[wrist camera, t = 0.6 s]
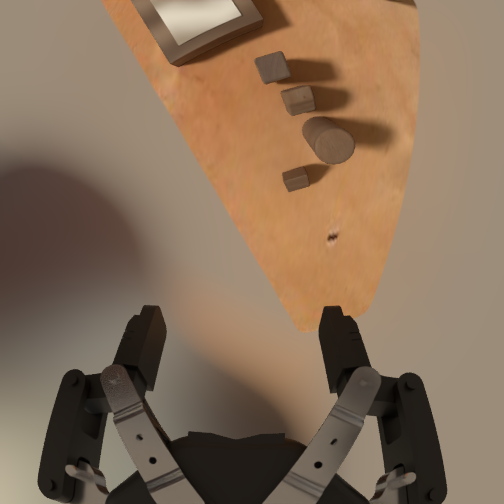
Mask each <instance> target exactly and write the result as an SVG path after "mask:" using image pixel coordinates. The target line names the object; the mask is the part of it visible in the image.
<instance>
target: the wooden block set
mask: <svg viewBox="0 0 504 504" xmlns="http://www.w3.org/2000/svg"><path fill="white" fill-rule="evenodd" d="M254 62H255V64H256V67H257V69H258V71H259V74H260V76H261V79H262V81H263V83H264V84H269V83H272V82H276V81H279V80H282V79H286V78H289V77H290V76H291V71H290V69H289V66H288V64H287V61H286V59H285V56H284V54H283V52H281V51H279V52H275V53H272V54H268V55H265V56H262V57H258V58H256V59H255V60H254ZM281 95H282V98H283V101H284V104H285V106H286V109H287V111H288V113H289V114H290V115H291V116H295V115H298V114H302V113H305V112H309V111H313V110H315V109H316V105H315V98H314V95H313V92H312V89H311V87H310V86H297V87H294V88H290V89H287V90H283V91H281ZM302 133H303V136H304V138H305V139H306V141H307V142H308V144H309V145H310V147H311V148H312V149H313V151H314V152H315V154H316V155H317V157H318V158H319V159H320V160H321V161H323V162H325V163H327V164H340V163H342V162H345V161H346V160H348V159H349V158H350V157H351V156H352V154H353V153H354V149H355V141H354V139H353V136H352V135H351V134H350V133H349V132H348V131H346V130H345V129H343V128H341V127H340V126H338V125H336V124H335V123H333V122H332V121H330V120H328V119H326V118H324V117H313V118H310V119H309V120H307V121H306V122H305V124H304V125H303V129H302ZM282 176H283V182H284V184H285V186H286V188H287V190H288V192H291V191H295V190H298V189H302V188H305V187H309V186H310V185H309V180H308V175H307V173H306V170H305V168H304V167H300V168H297V169H293V170H290V171H287V172H283V173H282Z"/></svg>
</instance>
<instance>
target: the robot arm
mask: <svg viewBox="0 0 504 504" xmlns="http://www.w3.org/2000/svg"><path fill="white" fill-rule="evenodd" d="M166 333H167V330H166V325H165V322H164V318H163V316H162V312H161V309H160V307H159V306H152V305H144V306H143V308H142V310H141V313H140V315H134V316H133V317H132V318H131V319H130V321H129V322H128V324H127V326H126V329H125V332H124V334H123V337H122V339H121V342H120V345H119V347H118V350H117V353H116V356H115V358H114V361H113V364H112V365H110V366H108V367H106V368H105V369H104V370H103V371H102V373H99V374H92V375H84V374H83V373H82V371H80V370H78V369H73V370H70V371H68V372H67V373H66V374H65V375H64V377H63V379H62V382H61V385H60V388H59V391H58V394H57V397H56V401H55V404H54V407H53V411H52V414H51V418H50V422H49V425H48V429H47V433H46V438H45V442H44V447H43V451H42V456H41V462H40V468H39V473H38V486H39V489H40V491H41V492H42V493H43V495H44V496H46V497H47V498H49V499H52V500H56V501H58V502H61V503H64V504H441V503H442V502H443V501H444V500H445V498H446V495H447V484H446V477H445V471H444V465H443V459H442V454H441V450H440V444H439V440H438V436H437V431H436V427H435V423H434V419H433V415H432V412H431V408H430V405H429V401H428V398H427V394H426V391H425V388H424V384H423V382H422V380H421V378H420V377H419V376H418V375H416V374H414V373H405V374H403V375H401V376H400V377H399V378H392V377H386V376H382V375H380V374H379V373H378V372H377V371H376V370H375V369H373V368H372V367H371V365H370V362H369V359H368V356H367V352H366V350H365V346H364V343H363V341H362V337H361V335H360V333H359V329H358V326H357V323H356V322H355V321H354V320H353V318H352V317H351V316H350V315H349V316H344V315H343V312H342V309H341V307H340V306H325V307H324V309H323V313H322V317H321V321H320V325H319V340H320V345H321V350H322V354H323V359H324V364H325V369H326V374H327V379H328V384H329V389H330V393H337V395H338V400H337V402H336V403H335V405H334V407H333V408H332V410H331V411H330V413H329V415H328V416H327V418H326V419H325V421H324V423H323V424H322V426H321V427H320V429H319V430H318V432H317V433H316V435H315V436H314V438H313V439H312V440H311V442H310V443H309V445H308V446H305V445H304V444H302V443H300V442H297V441H295V440H292V439H288V438H285V433H279V434H260V435H255V436H251V437H247V438H242V439H236V440H235V439H231V438H227V437H223V436H220V435H216V434H212V433H202V432H191V431H189V432H188V436H186V437H181V438H178V439H176V440H173V441H171V440H170V438H169V437H168V435H167V434H166V433H165V431H164V430H163V428H162V427H161V425H160V424H159V422H158V420H157V418H156V417H155V415H154V413H153V412H152V410H151V408H150V406H149V404H148V403H147V401H146V399H145V392H146V390H147V391H153V389H154V385H155V380H156V376H157V372H158V368H159V364H160V360H161V355H162V351H163V347H164V343H165V340H166ZM109 412H113V414H114V417H113V422H114V424H115V426H116V429H117V430H118V433H119V435H120V437H121V439H122V441H123V443H124V445H125V447H126V449H127V451H128V453H129V455H130V457H131V459H132V460H133V462H134V464H135V466H136V468H137V469H138V470H137V471H136V472H135V473H133V474H132V475H131V476H130V477H129V478H127V479H126V480H125V481H124V482H122V483H121V484H120V485H119V486H117V488H115V489H114V490H112V491H111V492H110V493H109V492H108V490H107V487H106V480H105V477H104V475H103V473H102V472H101V471H100V470H99V462H100V455H101V449H102V443H103V437H104V431H105V426H106V420H107V415H108V413H109ZM366 415H370V416H377V421H378V427H379V433H380V439H381V445H382V453H383V460H384V468H385V474H384V475H382V476H381V477H380V478H379V480H378V481H377V483H376V490H375V494H374V496H373V497H372V498H371V499H370V500H369V501H368V500H367V499H366V498H365V497H364V496H363V495H362V494H360V493H359V492H358V491H357V490H356V489H354V488H353V487H352V486H351V485H349V484H348V483H347V482H346V481H345V480H344V479H342V478H341V477H340V476H339V475H338V474H337V473H336V472H337V470H338V469H339V467H340V465H341V464H342V462H343V461H344V459H345V457H346V456H347V454H348V452H349V451H350V449H351V447H352V445H353V444H354V442H355V440H356V438H357V436H358V435H359V433H360V431H361V429H362V427H363V425H364V419H365V416H366Z"/></svg>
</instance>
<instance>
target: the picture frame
mask: <svg viewBox="0 0 504 504" xmlns="http://www.w3.org/2000/svg"><path fill="white" fill-rule="evenodd" d="M131 2H132V3H133V5H134V6H135V8H136V10H137V11H138V13H139V14H140V16H141V18H142V19H143V21H144V22H145V24H146V26H147V27H148V29H149V30H150V32H151V34H152V35H153V37H154V38H155V40H156V42H157V43H158V45H159V47H160V48H161V50H162V52H163V53H164V55H165V56H166V58H167V60H168V61H169V63H170V64H172V65H174V66H177V67H179V66H181V65H182V64H184V63H186V62H188V61H189V60H191V59H193V58H195V57H197V56H199V55H200V54H202V53H204V52H206V51H208V50H210V49H212V48H214V47H216V46H218V45H220V44H222V43H225V42H227V41H229V40H231V39H233V38H236V37H238V36H240V35H243V34H245V33H248V32H250V31H253V30H255V29H258V28H260V27H262V23H263V17H262V16H261V14H260V13H259V11H258V10H257V8H256V7H255V5H254V4H253V2H252V1H251V0H131Z"/></svg>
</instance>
